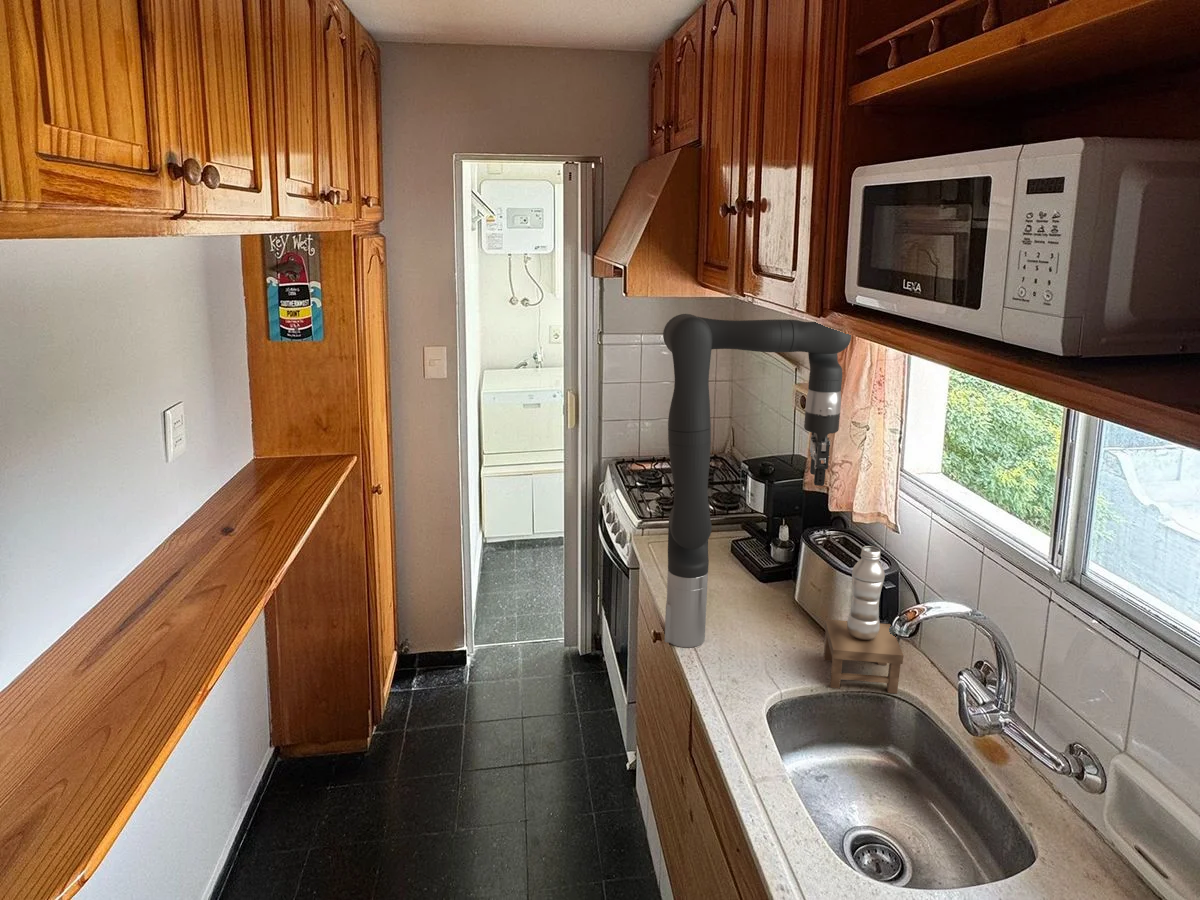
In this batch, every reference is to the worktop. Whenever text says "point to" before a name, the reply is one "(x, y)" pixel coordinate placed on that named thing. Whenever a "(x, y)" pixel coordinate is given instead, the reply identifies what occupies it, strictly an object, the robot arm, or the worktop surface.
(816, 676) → the worktop surface
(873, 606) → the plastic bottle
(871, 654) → the walnut stool
